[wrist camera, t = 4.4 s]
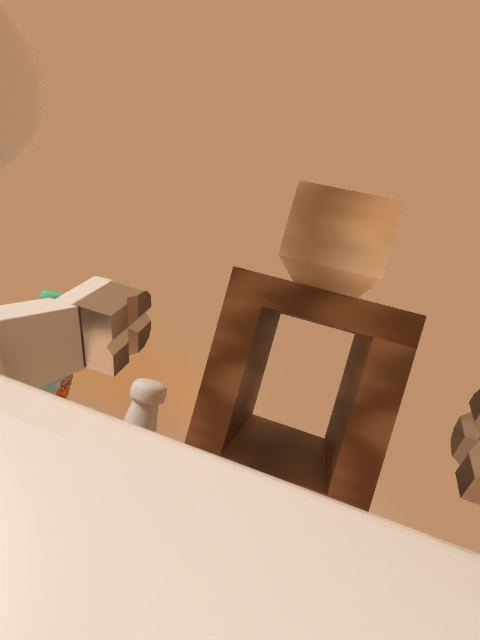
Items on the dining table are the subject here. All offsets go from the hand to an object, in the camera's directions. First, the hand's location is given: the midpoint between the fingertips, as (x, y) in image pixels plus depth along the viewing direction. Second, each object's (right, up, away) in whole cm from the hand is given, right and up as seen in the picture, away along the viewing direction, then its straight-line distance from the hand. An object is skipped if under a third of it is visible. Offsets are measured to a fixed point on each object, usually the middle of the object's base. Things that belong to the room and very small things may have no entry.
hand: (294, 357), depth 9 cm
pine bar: (+5, +3, +17) cm, 18 cm away
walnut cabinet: (-2, -23, +21) cm, 31 cm away
